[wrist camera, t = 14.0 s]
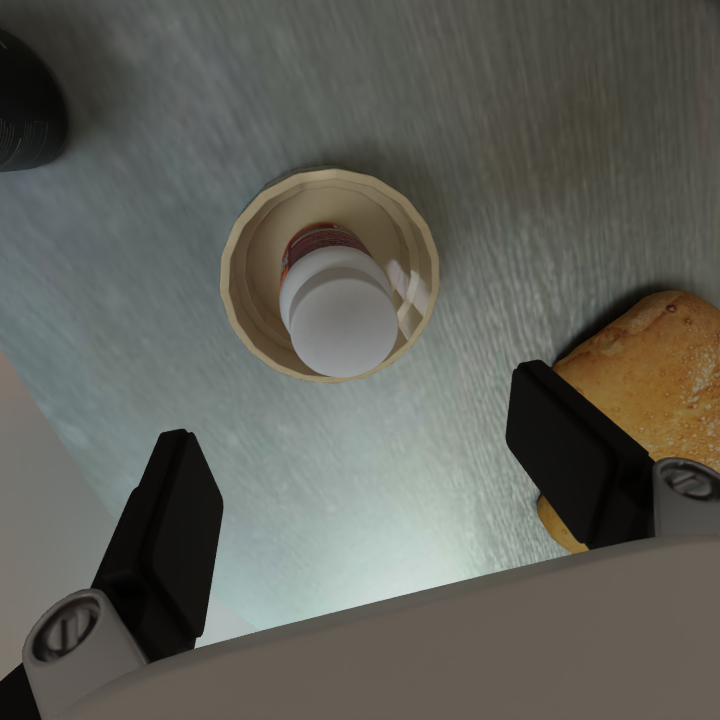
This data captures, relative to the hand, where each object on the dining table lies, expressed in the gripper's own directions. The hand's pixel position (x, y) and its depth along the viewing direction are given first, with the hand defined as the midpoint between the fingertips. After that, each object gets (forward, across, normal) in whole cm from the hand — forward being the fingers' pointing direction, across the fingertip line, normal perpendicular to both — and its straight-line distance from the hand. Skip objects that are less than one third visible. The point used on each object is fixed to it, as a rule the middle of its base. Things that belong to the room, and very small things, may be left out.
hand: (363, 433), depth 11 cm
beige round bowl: (+19, -1, 0) cm, 19 cm away
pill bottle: (+19, -1, 0) cm, 19 cm away
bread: (+19, -30, +22) cm, 42 cm away
